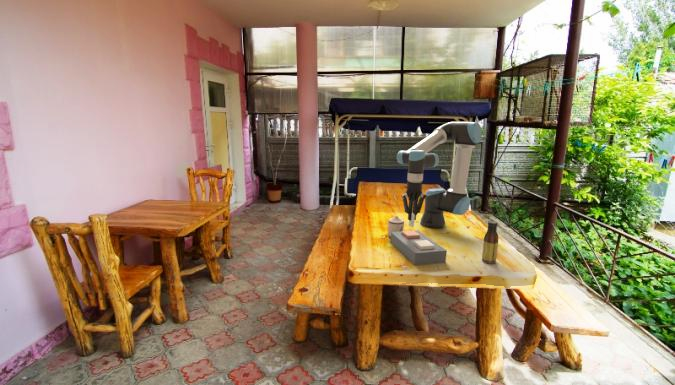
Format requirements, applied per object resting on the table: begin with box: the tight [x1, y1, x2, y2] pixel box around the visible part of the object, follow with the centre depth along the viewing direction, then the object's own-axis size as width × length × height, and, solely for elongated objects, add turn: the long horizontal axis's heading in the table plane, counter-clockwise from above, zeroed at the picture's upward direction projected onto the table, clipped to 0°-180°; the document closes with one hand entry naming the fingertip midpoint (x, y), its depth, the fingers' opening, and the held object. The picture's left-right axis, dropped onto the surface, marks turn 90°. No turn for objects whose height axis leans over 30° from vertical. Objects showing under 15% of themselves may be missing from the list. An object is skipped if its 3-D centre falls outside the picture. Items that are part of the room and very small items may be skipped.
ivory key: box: [414, 240, 434, 250], centre depth 154 cm, size 7×7×4 cm
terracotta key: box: [402, 229, 420, 239], centre depth 167 cm, size 7×7×4 cm
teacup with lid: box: [387, 215, 405, 238], centre depth 184 cm, size 12×9×12 cm
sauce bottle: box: [481, 220, 499, 265], centre depth 150 cm, size 6×6×20 cm
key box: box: [390, 229, 447, 266], centre depth 161 cm, size 16×28×6 cm, turn 14°
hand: (411, 226), depth 165 cm, fingers closed
